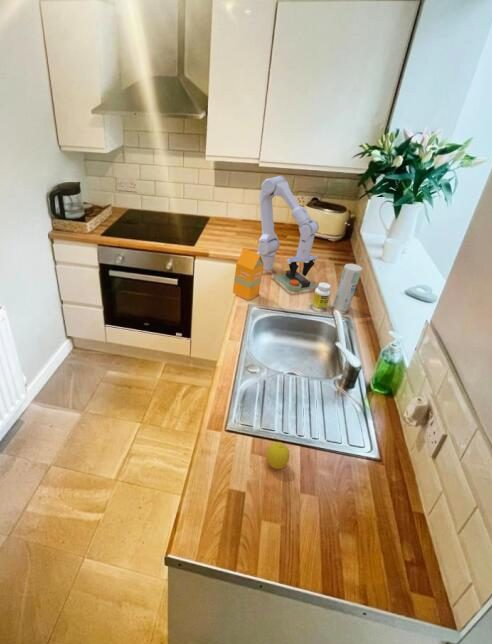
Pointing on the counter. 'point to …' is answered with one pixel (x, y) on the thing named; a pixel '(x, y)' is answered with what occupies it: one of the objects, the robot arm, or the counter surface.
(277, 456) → the lemon
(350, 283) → the spray can
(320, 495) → the counter surface
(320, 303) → the pill bottle
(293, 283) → the power button
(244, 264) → the orange juice
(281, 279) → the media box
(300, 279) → the remote
